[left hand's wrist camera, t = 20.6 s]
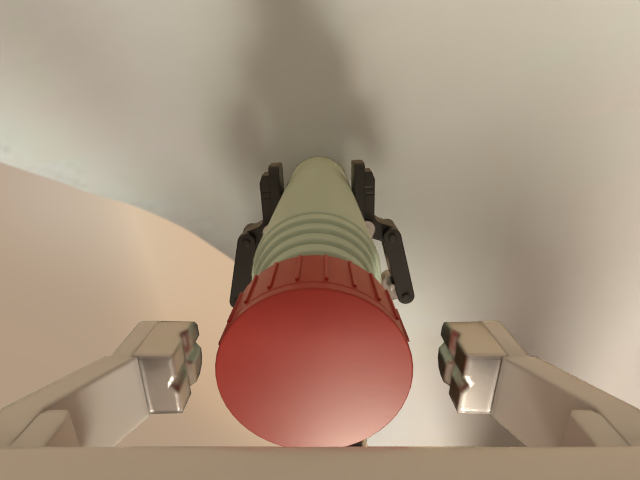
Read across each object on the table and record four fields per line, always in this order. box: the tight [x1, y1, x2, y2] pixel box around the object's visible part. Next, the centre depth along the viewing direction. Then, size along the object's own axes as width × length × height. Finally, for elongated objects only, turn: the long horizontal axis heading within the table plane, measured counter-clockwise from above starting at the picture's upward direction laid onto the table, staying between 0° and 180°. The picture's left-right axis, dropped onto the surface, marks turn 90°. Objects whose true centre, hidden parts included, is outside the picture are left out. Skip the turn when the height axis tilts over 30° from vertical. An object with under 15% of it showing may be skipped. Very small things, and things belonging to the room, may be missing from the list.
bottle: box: [252, 157, 381, 284], centre depth 20 cm, size 5×5×23 cm
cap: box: [215, 254, 413, 447], centre depth 9 cm, size 5×5×2 cm
